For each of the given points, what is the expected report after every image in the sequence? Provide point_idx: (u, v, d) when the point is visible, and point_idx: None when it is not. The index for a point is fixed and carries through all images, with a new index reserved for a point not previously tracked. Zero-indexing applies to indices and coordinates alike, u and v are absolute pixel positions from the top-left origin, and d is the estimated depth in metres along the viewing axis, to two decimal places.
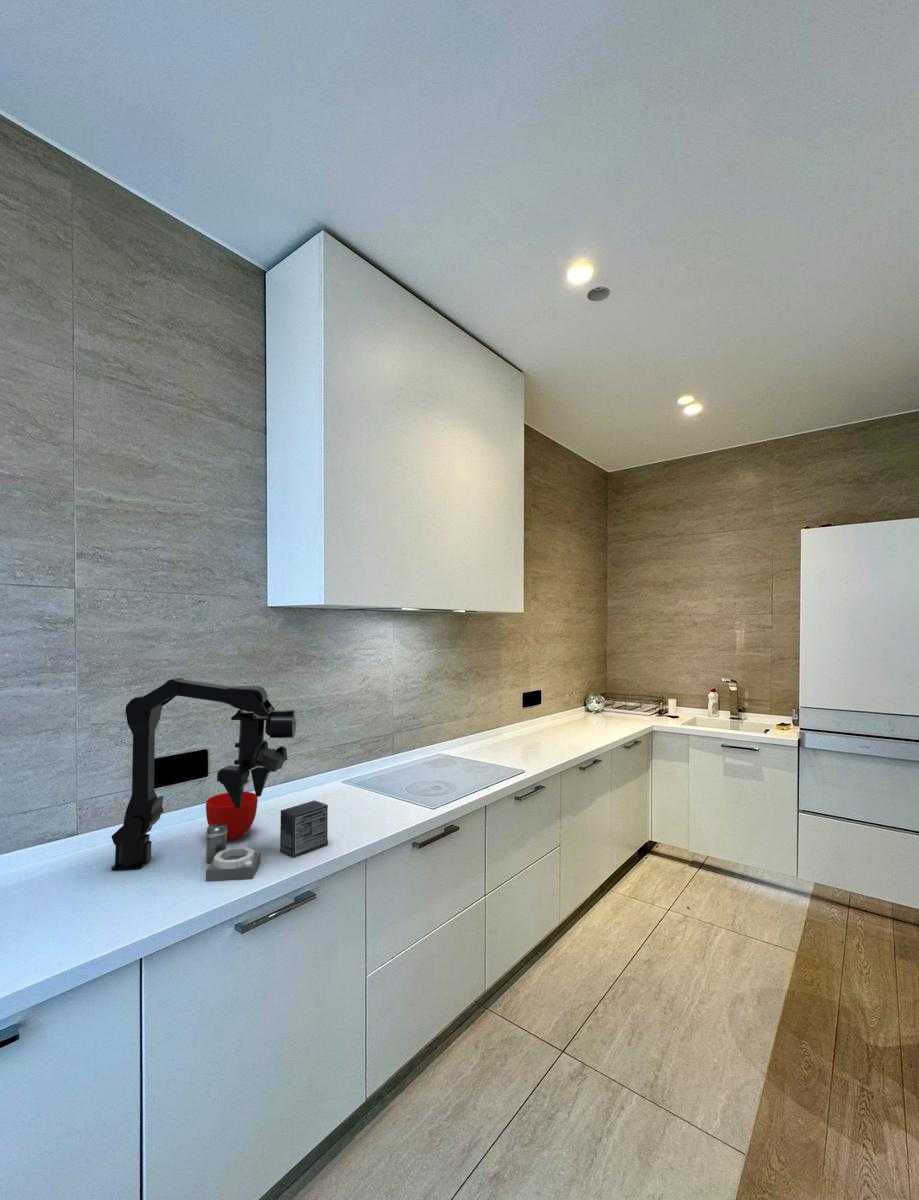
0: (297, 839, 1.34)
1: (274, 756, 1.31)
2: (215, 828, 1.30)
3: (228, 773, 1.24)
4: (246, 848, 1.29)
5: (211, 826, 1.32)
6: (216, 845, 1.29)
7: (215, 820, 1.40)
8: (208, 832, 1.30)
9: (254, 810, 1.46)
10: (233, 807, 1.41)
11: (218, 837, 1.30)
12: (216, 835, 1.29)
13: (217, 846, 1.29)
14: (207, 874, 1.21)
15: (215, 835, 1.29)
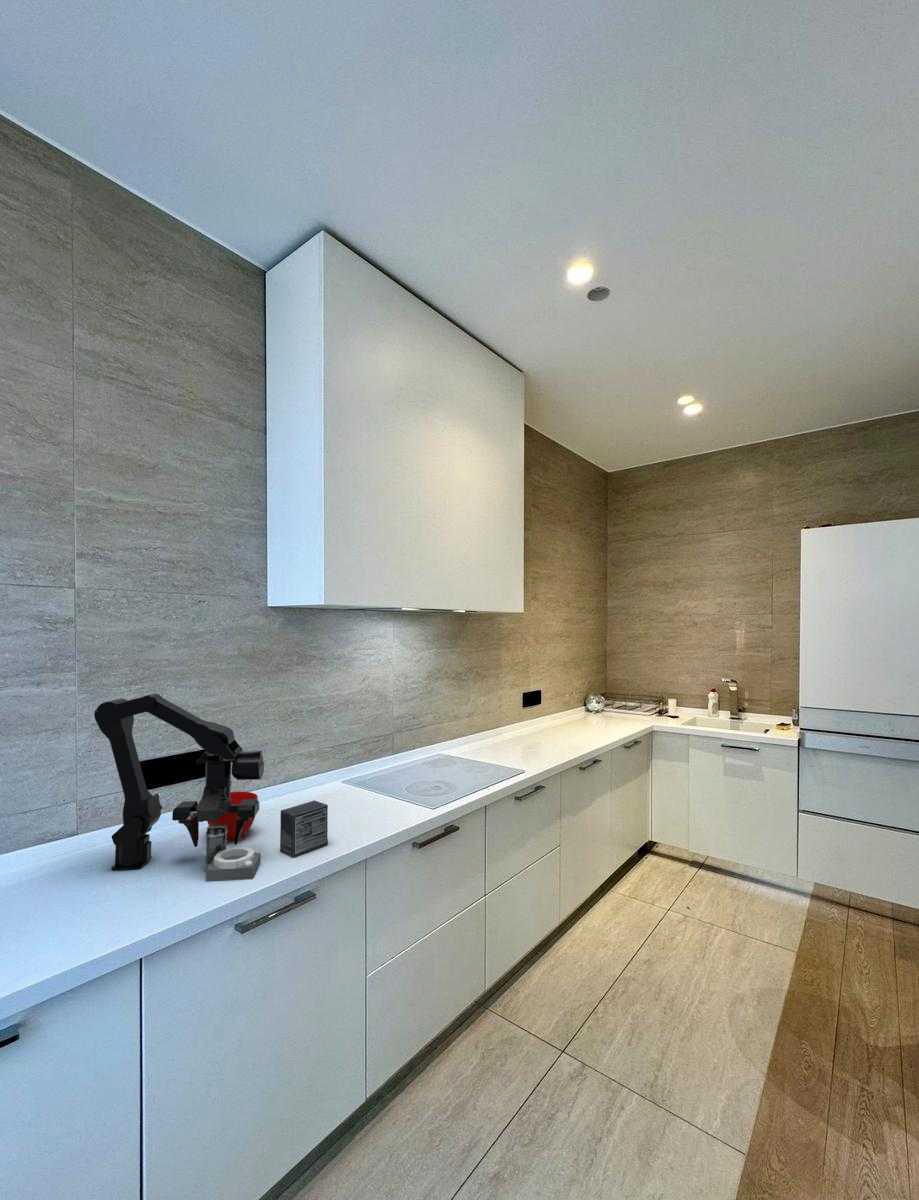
0: (297, 839, 1.34)
1: (203, 805, 1.25)
2: (215, 828, 1.30)
3: None
4: (246, 848, 1.29)
5: (211, 826, 1.32)
6: (216, 845, 1.29)
7: None
8: (208, 832, 1.30)
9: None
10: None
11: (218, 837, 1.30)
12: (216, 835, 1.29)
13: (217, 846, 1.29)
14: (207, 874, 1.21)
15: (215, 835, 1.29)
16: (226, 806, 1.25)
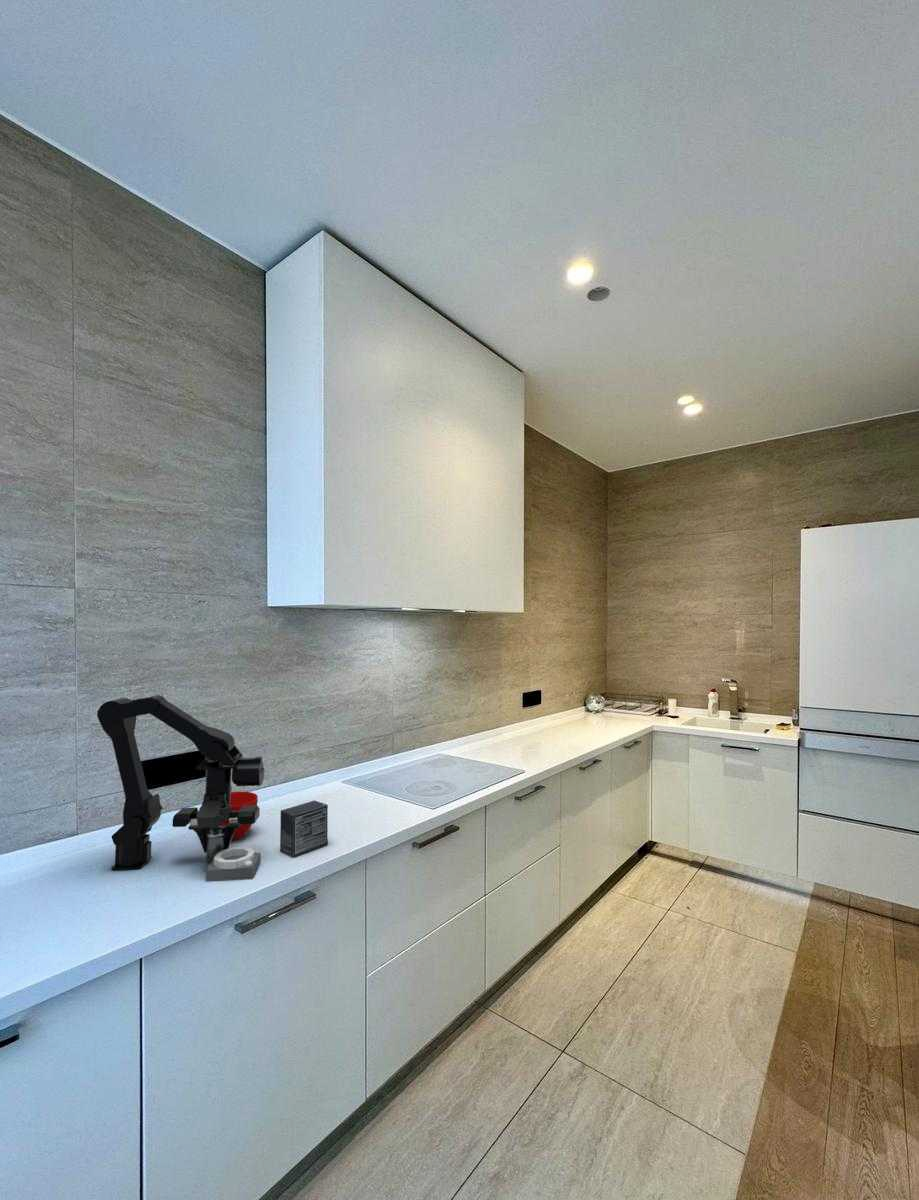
0: (297, 839, 1.34)
1: (203, 812, 1.25)
2: (215, 828, 1.30)
3: None
4: (246, 848, 1.29)
5: None
6: (216, 845, 1.29)
7: None
8: (208, 832, 1.30)
9: None
10: (233, 807, 1.41)
11: (218, 837, 1.30)
12: (216, 835, 1.29)
13: (217, 846, 1.29)
14: (207, 874, 1.21)
15: (215, 835, 1.29)
16: (226, 813, 1.25)
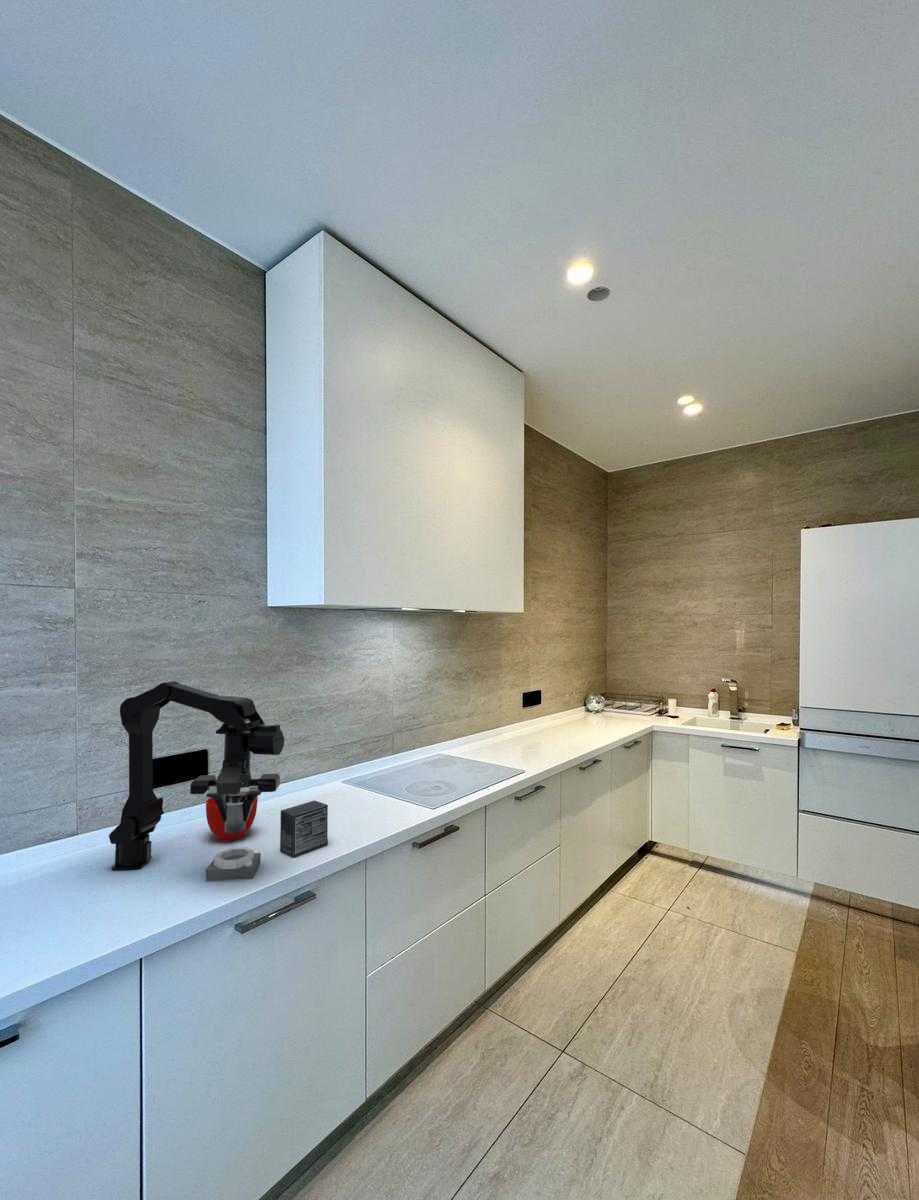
0: (297, 839, 1.34)
1: (223, 778, 1.19)
2: (234, 796, 1.25)
3: None
4: (246, 848, 1.29)
5: (230, 794, 1.26)
6: (235, 814, 1.24)
7: (215, 820, 1.40)
8: (227, 800, 1.24)
9: (254, 810, 1.46)
10: None
11: (238, 805, 1.24)
12: (235, 803, 1.24)
13: (237, 815, 1.24)
14: (207, 874, 1.21)
15: (234, 803, 1.24)
16: (247, 779, 1.19)
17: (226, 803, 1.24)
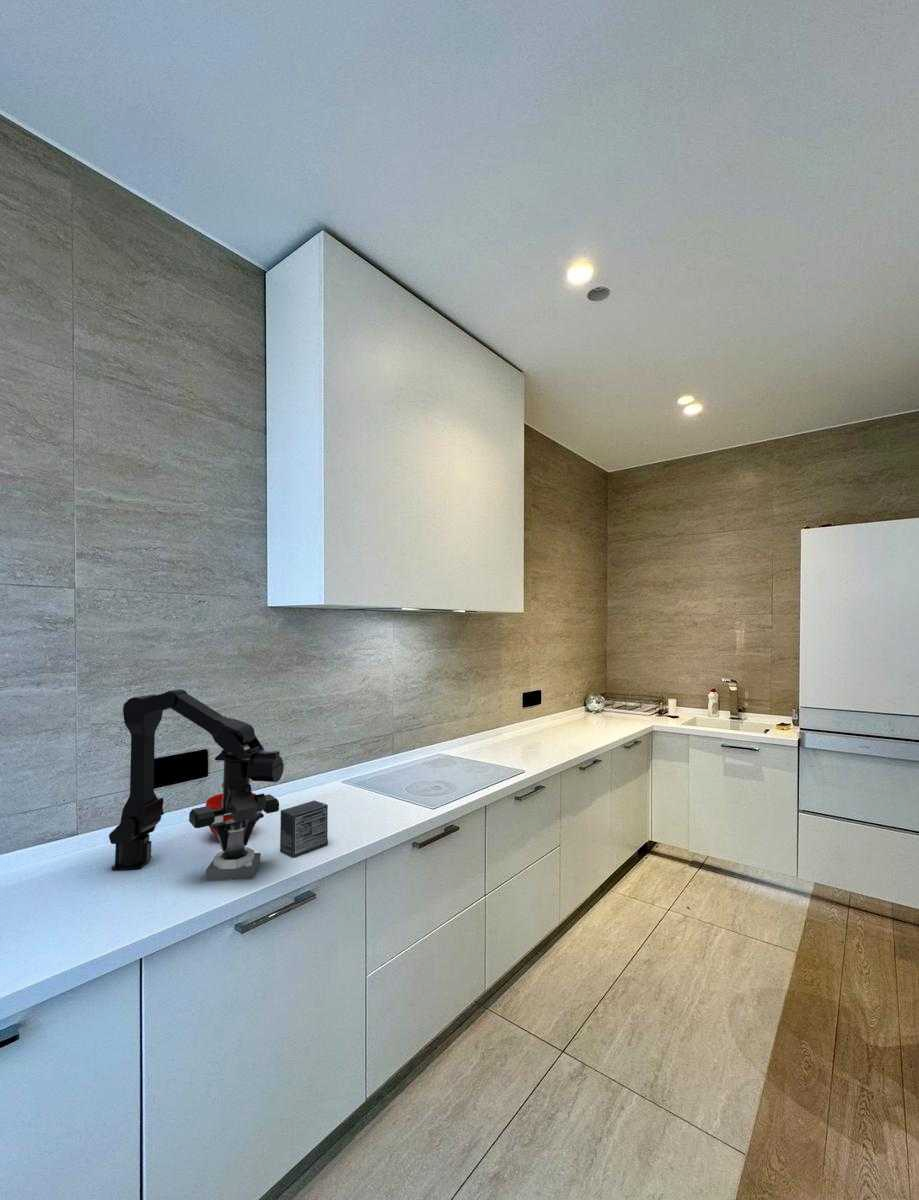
0: (297, 839, 1.34)
1: (241, 805, 1.20)
2: (236, 823, 1.25)
3: (192, 816, 1.20)
4: (246, 848, 1.29)
5: (229, 822, 1.25)
6: (239, 840, 1.24)
7: None
8: (230, 828, 1.23)
9: None
10: None
11: (242, 831, 1.25)
12: (240, 829, 1.24)
13: (241, 840, 1.24)
14: (207, 874, 1.21)
15: (239, 830, 1.24)
16: (264, 801, 1.23)
17: (229, 831, 1.23)
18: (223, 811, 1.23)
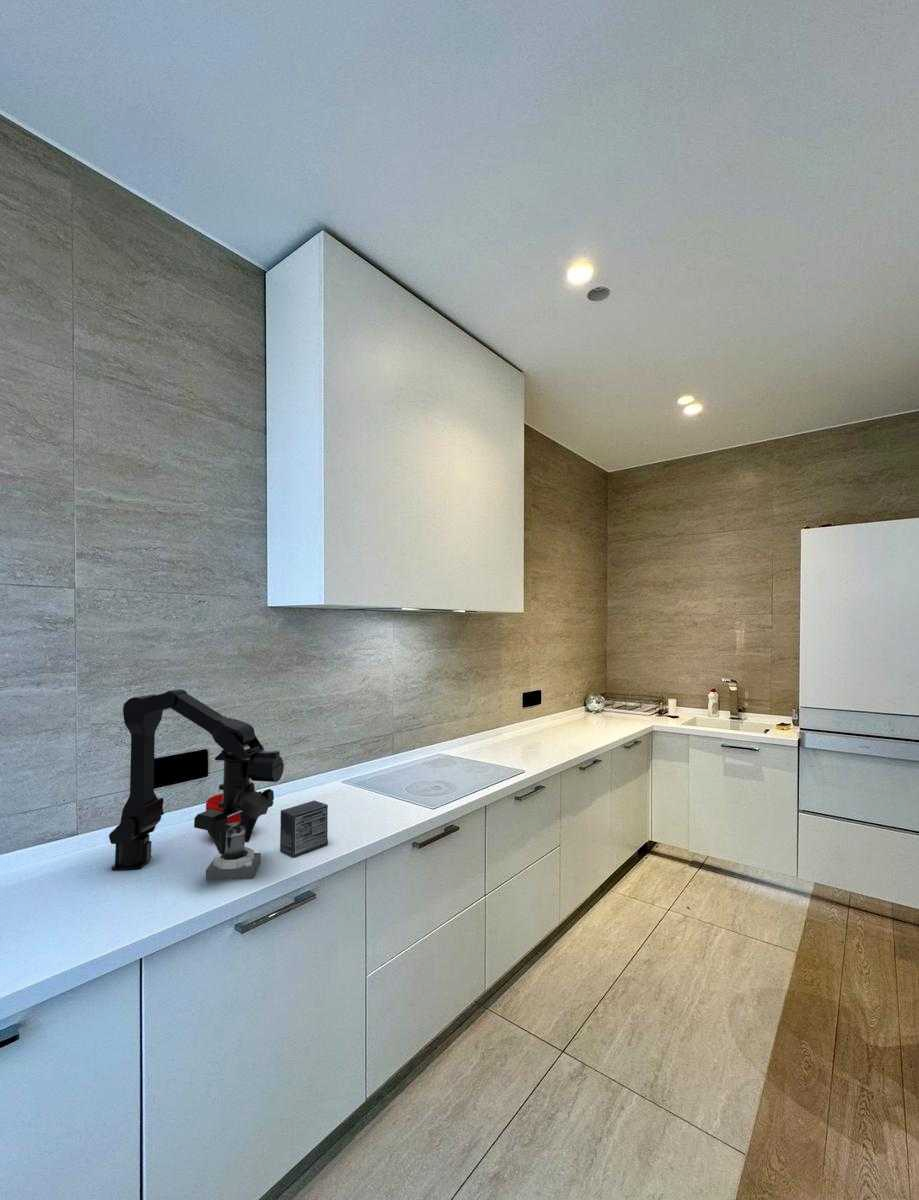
0: (297, 839, 1.34)
1: (255, 801, 1.22)
2: (238, 826, 1.25)
3: (203, 820, 1.17)
4: (246, 848, 1.29)
5: None
6: (243, 842, 1.25)
7: None
8: (235, 831, 1.24)
9: None
10: None
11: (244, 833, 1.26)
12: (243, 831, 1.25)
13: (243, 842, 1.25)
14: (207, 874, 1.21)
15: (243, 832, 1.25)
16: (273, 796, 1.27)
17: (234, 835, 1.23)
18: (227, 812, 1.23)
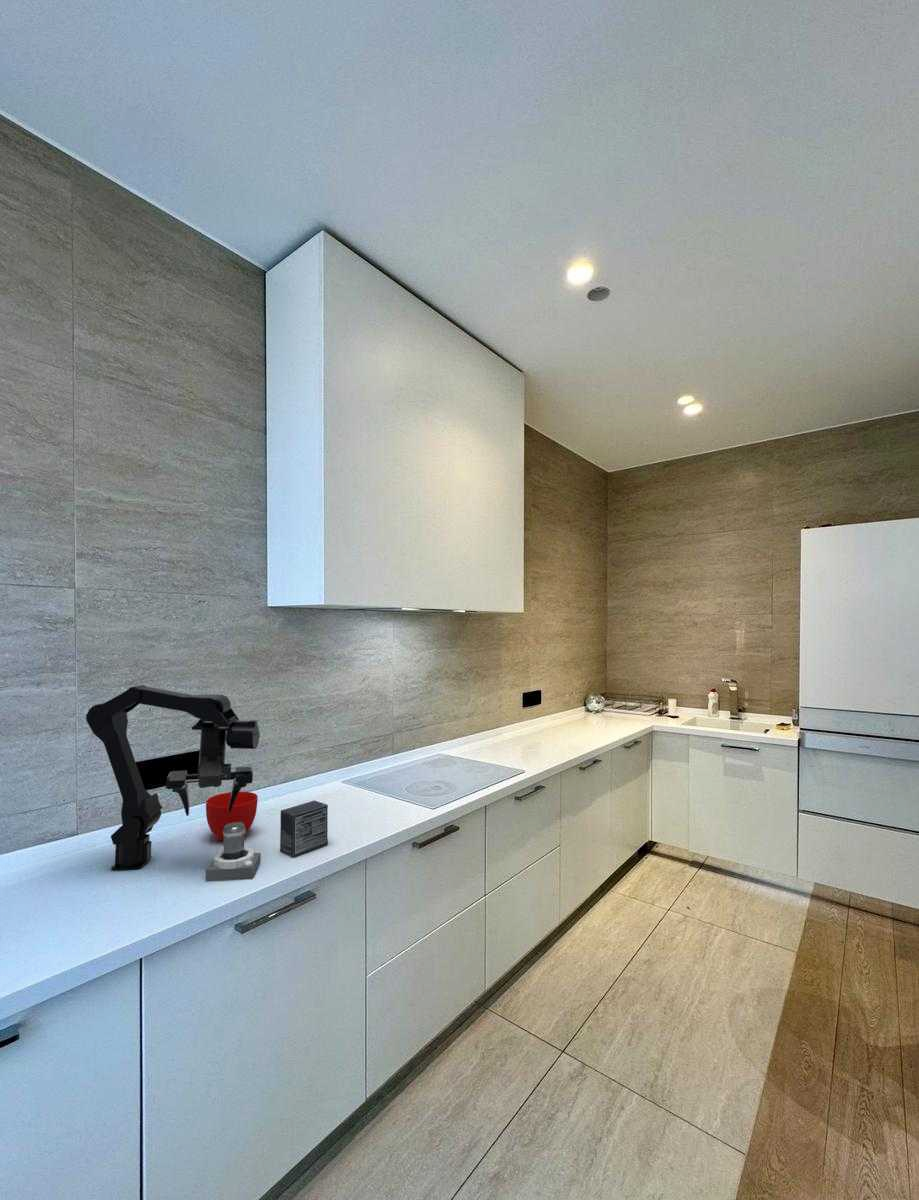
0: (297, 839, 1.34)
1: (205, 771, 1.24)
2: (238, 826, 1.25)
3: None
4: (246, 848, 1.29)
5: (229, 827, 1.24)
6: (243, 842, 1.25)
7: (215, 820, 1.40)
8: (235, 832, 1.23)
9: (254, 810, 1.46)
10: (233, 807, 1.41)
11: (244, 833, 1.26)
12: (243, 831, 1.25)
13: (243, 842, 1.25)
14: (207, 874, 1.21)
15: (243, 832, 1.25)
16: (230, 771, 1.26)
17: (234, 835, 1.23)
18: None
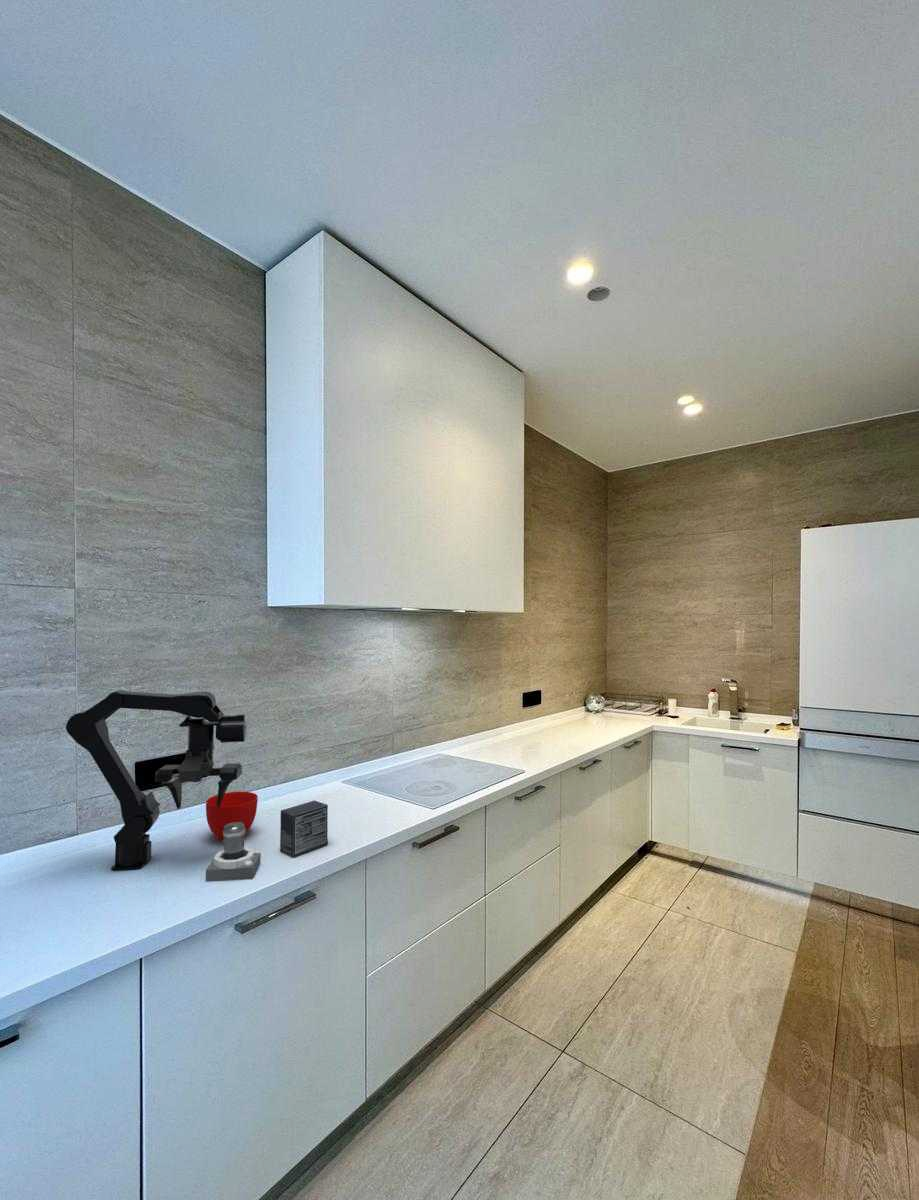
0: (297, 839, 1.34)
1: (185, 766, 1.27)
2: (238, 826, 1.25)
3: None
4: (246, 848, 1.29)
5: (229, 827, 1.24)
6: (243, 842, 1.25)
7: (215, 820, 1.40)
8: (235, 832, 1.23)
9: (254, 810, 1.46)
10: (233, 807, 1.41)
11: (244, 832, 1.26)
12: (243, 831, 1.25)
13: (243, 842, 1.25)
14: (207, 874, 1.21)
15: (243, 832, 1.25)
16: (208, 767, 1.27)
17: (234, 835, 1.23)
18: None
